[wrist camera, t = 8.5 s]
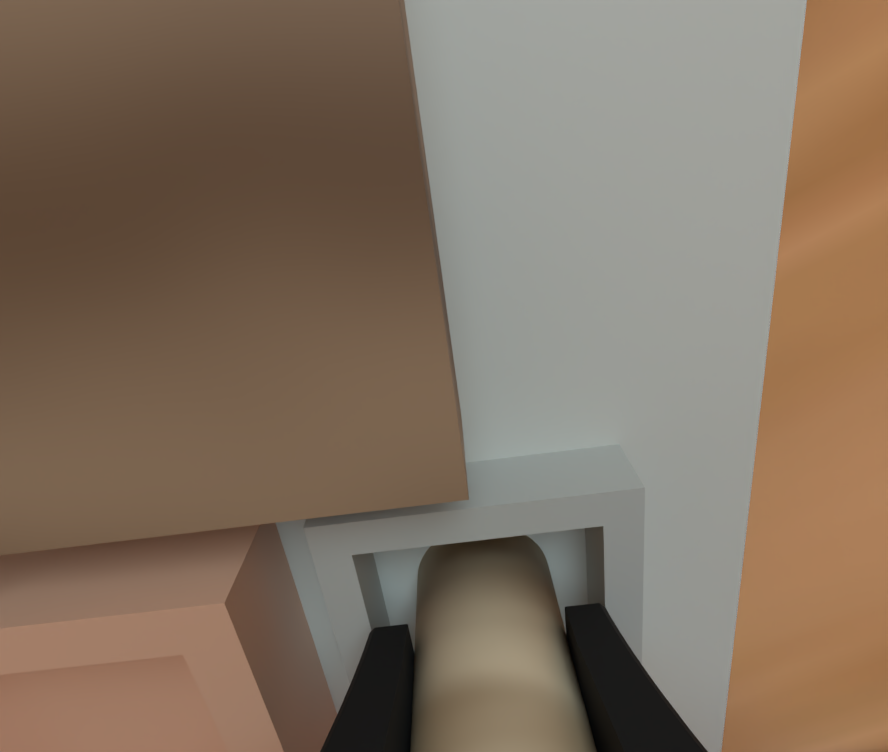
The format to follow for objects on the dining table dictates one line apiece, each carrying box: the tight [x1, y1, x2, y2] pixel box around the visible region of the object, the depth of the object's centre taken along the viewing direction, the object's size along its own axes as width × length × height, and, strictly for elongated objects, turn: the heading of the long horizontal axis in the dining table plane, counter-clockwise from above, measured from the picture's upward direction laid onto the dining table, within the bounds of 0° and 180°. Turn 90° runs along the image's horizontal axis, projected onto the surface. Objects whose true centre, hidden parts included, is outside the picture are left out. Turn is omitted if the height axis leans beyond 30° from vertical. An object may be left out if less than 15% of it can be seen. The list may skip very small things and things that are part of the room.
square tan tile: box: [0, 0, 469, 555], centre depth 7 cm, size 8×8×2 cm
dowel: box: [410, 535, 597, 752], centre depth 8 cm, size 3×3×7 cm
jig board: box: [276, 0, 807, 752], centre depth 9 cm, size 21×20×5 cm
